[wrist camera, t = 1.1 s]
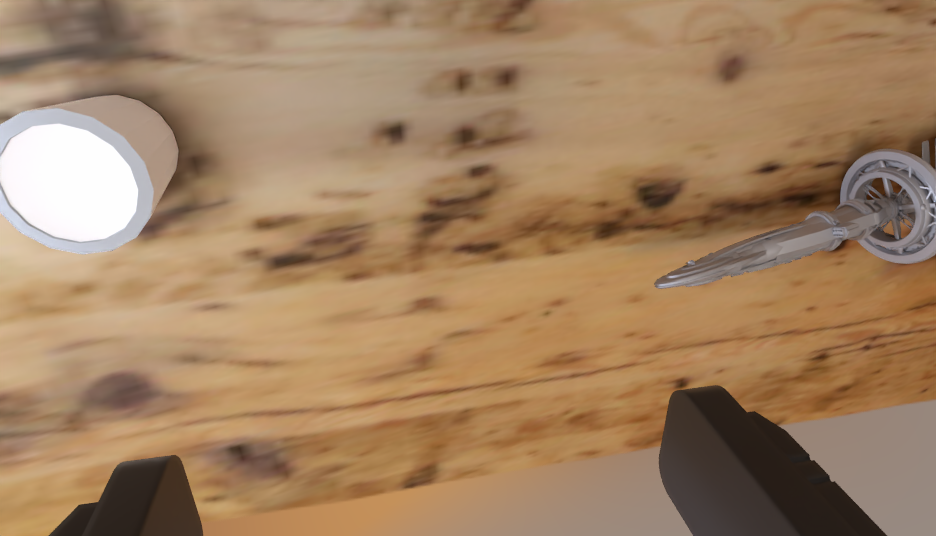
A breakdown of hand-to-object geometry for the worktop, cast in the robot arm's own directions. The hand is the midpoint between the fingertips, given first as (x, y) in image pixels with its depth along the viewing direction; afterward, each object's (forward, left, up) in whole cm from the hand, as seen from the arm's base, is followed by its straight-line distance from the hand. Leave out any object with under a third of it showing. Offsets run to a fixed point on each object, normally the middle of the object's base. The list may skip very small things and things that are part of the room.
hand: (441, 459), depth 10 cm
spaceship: (+21, +27, -28) cm, 44 cm away
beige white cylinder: (-5, -13, -28) cm, 31 cm away
